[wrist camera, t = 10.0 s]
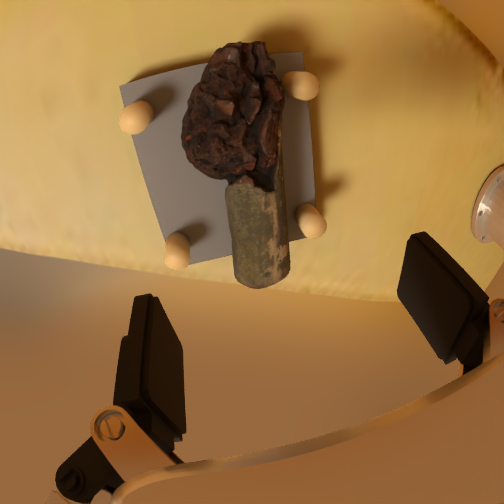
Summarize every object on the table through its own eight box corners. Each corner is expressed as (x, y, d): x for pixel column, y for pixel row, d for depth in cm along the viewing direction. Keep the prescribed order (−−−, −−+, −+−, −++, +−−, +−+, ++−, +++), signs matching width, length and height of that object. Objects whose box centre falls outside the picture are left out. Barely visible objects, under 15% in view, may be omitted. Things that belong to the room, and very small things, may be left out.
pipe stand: (293, 52, 19) (315, 49, 15) (308, 224, 28) (326, 250, 25) (125, 84, 18) (110, 87, 14) (175, 255, 28) (174, 286, 24)
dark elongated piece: (283, 250, 27) (302, 291, 23) (210, 263, 27) (215, 308, 22) (269, 42, 17) (294, 35, 12) (171, 54, 16) (162, 48, 12)
